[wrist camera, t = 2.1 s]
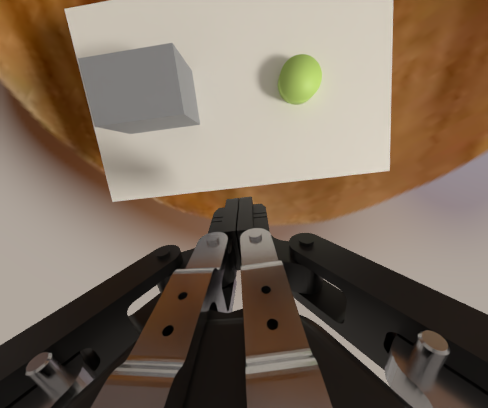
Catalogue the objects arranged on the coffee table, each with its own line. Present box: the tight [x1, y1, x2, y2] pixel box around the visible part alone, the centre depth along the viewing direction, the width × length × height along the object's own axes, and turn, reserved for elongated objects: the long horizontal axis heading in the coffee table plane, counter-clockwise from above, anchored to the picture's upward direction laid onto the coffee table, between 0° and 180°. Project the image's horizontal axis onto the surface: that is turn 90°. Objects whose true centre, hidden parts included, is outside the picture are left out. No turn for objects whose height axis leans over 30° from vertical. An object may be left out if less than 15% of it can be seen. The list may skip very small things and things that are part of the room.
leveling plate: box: [64, 0, 393, 202], centre depth 16 cm, size 15×24×7 cm, turn 97°
